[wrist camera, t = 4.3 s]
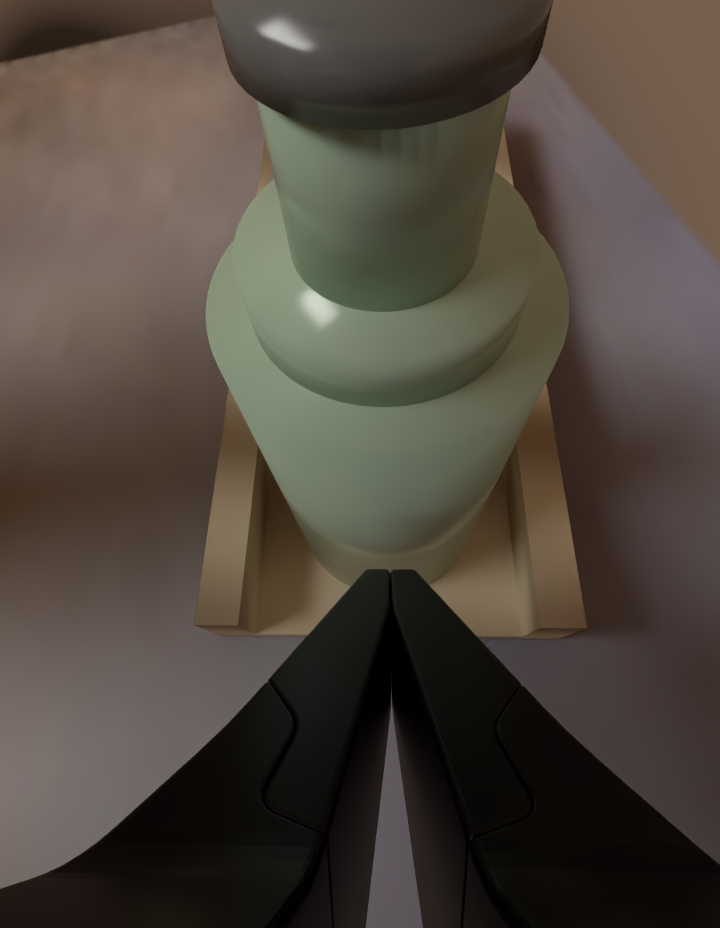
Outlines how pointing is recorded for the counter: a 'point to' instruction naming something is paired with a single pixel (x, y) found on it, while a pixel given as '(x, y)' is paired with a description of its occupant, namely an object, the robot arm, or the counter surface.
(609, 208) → the counter surface
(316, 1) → the glass bottle
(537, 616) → the rest
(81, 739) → the counter surface
